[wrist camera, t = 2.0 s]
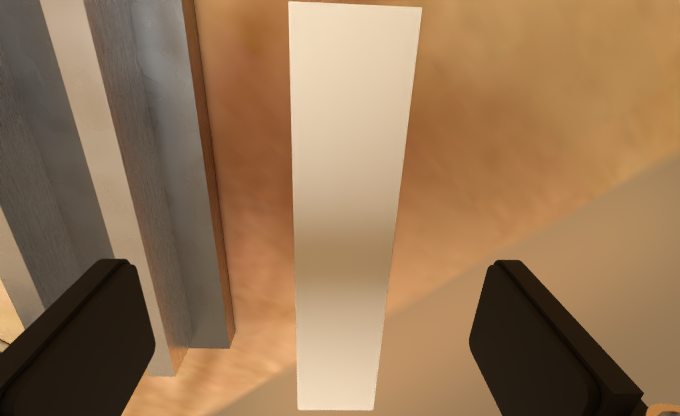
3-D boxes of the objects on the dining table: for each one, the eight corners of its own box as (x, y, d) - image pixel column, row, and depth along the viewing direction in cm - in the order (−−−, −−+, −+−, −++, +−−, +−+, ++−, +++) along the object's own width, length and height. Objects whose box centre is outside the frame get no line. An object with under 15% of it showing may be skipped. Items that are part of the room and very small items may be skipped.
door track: (174, -153, 14) (108, -235, 10) (235, 332, 25) (216, 388, 21) (-141, -172, 13) (-347, -266, 9) (65, 329, 25) (12, 386, 21)
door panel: (379, 26, 17) (435, 8, 8) (361, 265, 23) (380, 410, 14) (311, 23, 17) (288, 1, 8) (311, 264, 23) (297, 409, 14)
